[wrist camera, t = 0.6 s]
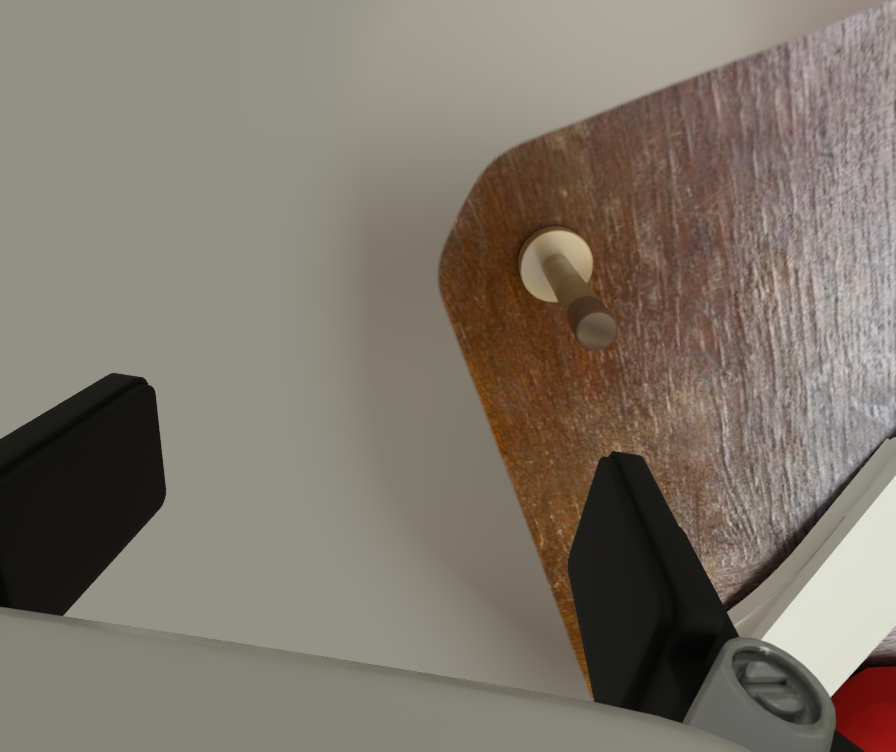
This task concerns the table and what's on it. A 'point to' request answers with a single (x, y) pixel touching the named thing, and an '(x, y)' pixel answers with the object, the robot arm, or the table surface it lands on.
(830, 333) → the table surface
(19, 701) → the robot arm
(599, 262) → the table surface
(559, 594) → the table surface
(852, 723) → the tomato
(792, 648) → the wall bracket
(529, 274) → the stirrer
